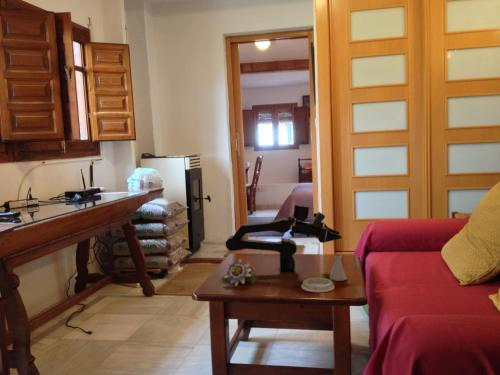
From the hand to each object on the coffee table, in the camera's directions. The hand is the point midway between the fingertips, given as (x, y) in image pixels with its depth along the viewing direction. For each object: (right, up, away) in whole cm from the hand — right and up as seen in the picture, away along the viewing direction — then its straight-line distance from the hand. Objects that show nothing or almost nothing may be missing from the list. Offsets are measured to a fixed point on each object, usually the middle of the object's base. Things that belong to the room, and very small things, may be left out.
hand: (340, 235), depth 192 cm
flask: (-3, -17, -12) cm, 21 cm away
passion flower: (-44, -19, -13) cm, 50 cm away
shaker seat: (-13, -18, -22) cm, 31 cm away
